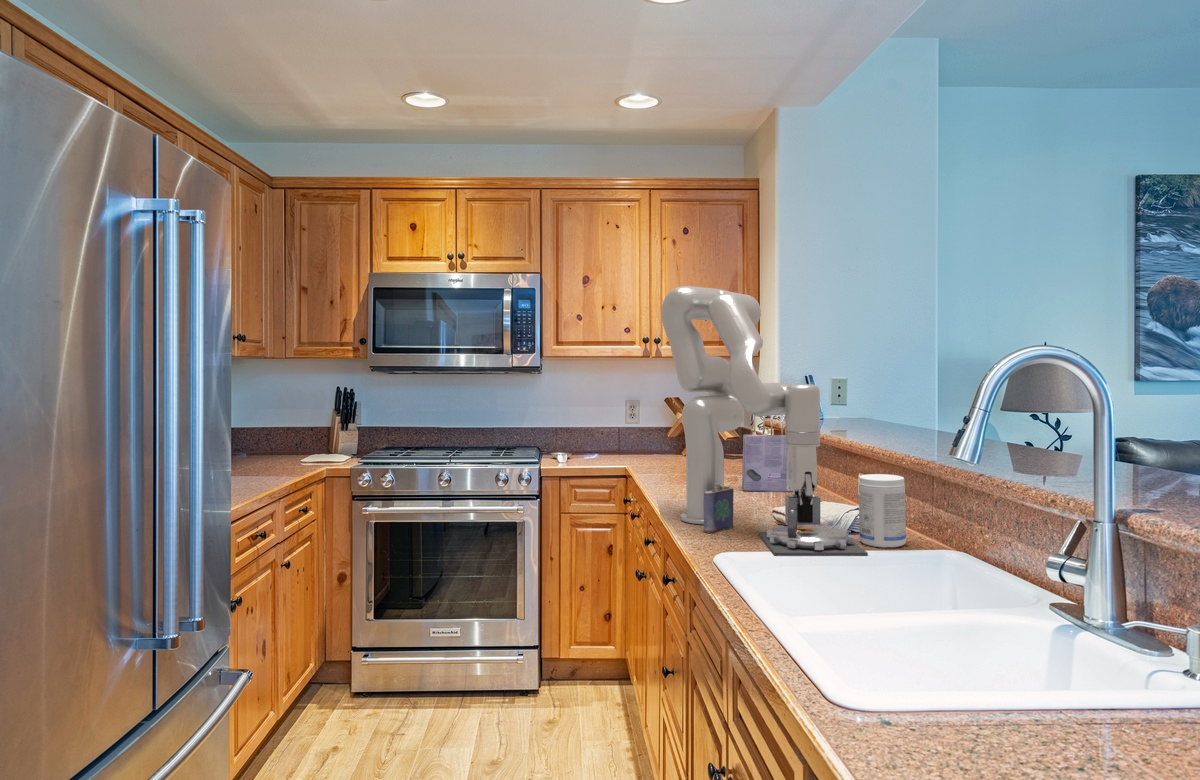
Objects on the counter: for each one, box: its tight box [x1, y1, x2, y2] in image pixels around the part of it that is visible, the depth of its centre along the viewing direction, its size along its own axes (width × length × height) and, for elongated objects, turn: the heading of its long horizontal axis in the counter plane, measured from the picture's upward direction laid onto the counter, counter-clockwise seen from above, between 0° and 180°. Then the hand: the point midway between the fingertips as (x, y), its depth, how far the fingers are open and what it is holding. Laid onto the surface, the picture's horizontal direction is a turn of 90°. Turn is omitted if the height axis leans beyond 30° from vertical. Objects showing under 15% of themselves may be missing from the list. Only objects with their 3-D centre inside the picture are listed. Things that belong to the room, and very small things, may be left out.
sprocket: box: [766, 509, 855, 550], centre depth 160 cm, size 18×18×7 cm
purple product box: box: [741, 434, 794, 493], centre depth 230 cm, size 19×5×18 cm, turn 84°
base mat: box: [757, 531, 869, 557], centre depth 161 cm, size 19×19×1 cm
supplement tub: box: [858, 473, 907, 549], centre depth 161 cm, size 10×10×15 cm
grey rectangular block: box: [784, 494, 821, 526], centre depth 165 cm, size 4×7×6 cm, turn 87°
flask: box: [703, 481, 735, 534], centre depth 176 cm, size 10×3×12 cm, turn 133°
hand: (802, 519), depth 165 cm, fingers closed on grey rectangular block, 3 cm apart
